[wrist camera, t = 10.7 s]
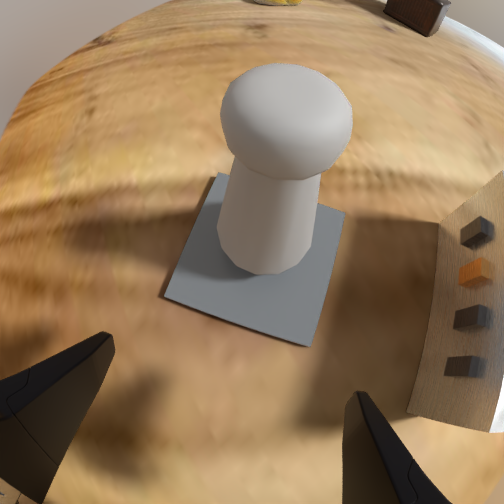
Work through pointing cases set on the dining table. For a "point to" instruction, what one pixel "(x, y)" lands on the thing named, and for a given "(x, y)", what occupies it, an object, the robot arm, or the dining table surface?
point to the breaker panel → (466, 319)
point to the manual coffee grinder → (419, 14)
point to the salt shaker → (278, 162)
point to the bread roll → (279, 2)
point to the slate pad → (256, 277)
